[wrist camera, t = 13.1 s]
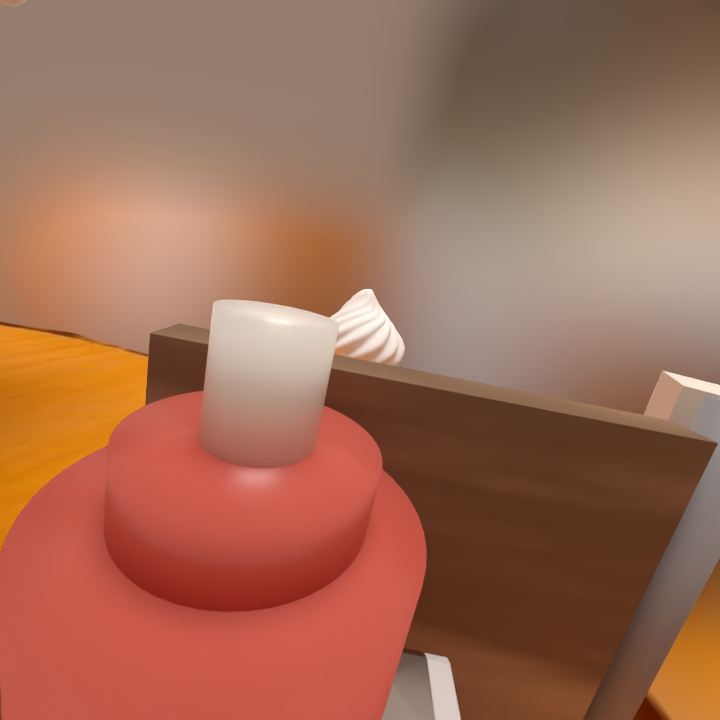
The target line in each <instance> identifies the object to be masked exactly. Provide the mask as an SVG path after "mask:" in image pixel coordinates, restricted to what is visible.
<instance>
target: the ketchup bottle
mask: <svg viewBox="0 0 720 720" xmlns="http://www.w3.org/2000/svg"><path fill="white" fill-rule="evenodd" d="M338 331H339V323H337V322H336V321H334V320H332V319H330V318H328V317H325V316H322V315H319V314H316V313H313V312H309V311H305V310H301V309H296V308H292V307H287V306H282V305H276V304H270V303H263V302H256V301H246V300H219V301H215V302H214V303H213V310H212V318H211V328H210V336H209V345H208V354H207V363H206V372H205V381H204V390H203V391H198V392H191V393H185V394H180V395H176V396H172V397H168V398H165V399H162V400H159V401H156V402H153V403H151V404H148V405H146V406H144V407H142V408H140V409H138V410H136V411H135V412H133V413H132V414H130V415H129V416H127V417H126V418H125V419H123V421H122V422H121V423H120V424H119V425H118V426H117V427H116V428H115V430H114V431H113V433H112V434H111V436H110V439H109V443H108V446H106V447H104V448H102V449H100V450H98V451H96V452H94V453H92V454H90V455H88V456H86V457H84V458H82V459H81V460H79V461H78V462H76V463H74V464H73V465H71V466H69V467H68V468H66V469H65V470H64V471H62V472H61V473H60V474H58V475H57V476H56V477H54V478H53V479H52V480H50V481H49V482H48V483H47V484H46V485H45V486H44V487H43V488H42V489H41V490H40V491H39V492H38V493H37V494H36V495H35V496H34V497H32V499H31V500H30V501H29V502H28V504H27V505H26V506H25V507H24V509H23V510H22V511H21V513H20V514H19V515H18V516H17V518H16V520H15V522H14V523H13V525H12V527H11V529H10V531H9V533H8V535H7V536H6V538H5V541H4V545H3V548H2V551H1V554H0V689H1V714H2V720H382V716H383V713H384V710H385V707H386V703H387V700H388V697H389V694H390V690H391V687H392V684H393V681H394V677H395V674H396V671H397V668H398V664H399V661H400V658H401V654H402V651H403V648H404V645H405V641H406V638H407V635H408V632H409V628H410V625H411V622H412V619H413V615H414V612H415V609H416V605H417V602H418V599H419V596H420V592H421V589H422V585H423V581H424V576H425V571H426V553H427V549H426V542H425V536H424V531H423V528H422V525H421V522H420V519H419V516H418V514H417V512H416V510H415V508H414V506H413V504H412V502H411V501H410V500H409V498H408V497H407V495H406V494H405V492H404V491H403V490H402V488H401V487H400V486H399V485H398V484H397V483H396V482H395V480H394V479H393V478H392V477H390V476H389V475H388V474H387V473H386V472H385V471H384V470H383V469H382V456H381V452H380V449H379V447H378V445H377V443H376V442H375V441H374V439H373V438H372V436H371V435H370V434H369V433H368V432H367V431H366V430H365V429H364V428H362V427H361V426H360V425H359V424H357V423H356V422H354V421H353V420H352V419H350V418H348V417H347V416H345V415H343V414H341V413H339V412H337V411H335V410H333V409H331V408H329V407H326V406H324V402H325V397H326V392H327V386H328V381H329V376H330V371H331V366H332V361H333V356H334V351H335V346H336V341H337V336H338Z"/></svg>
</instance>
